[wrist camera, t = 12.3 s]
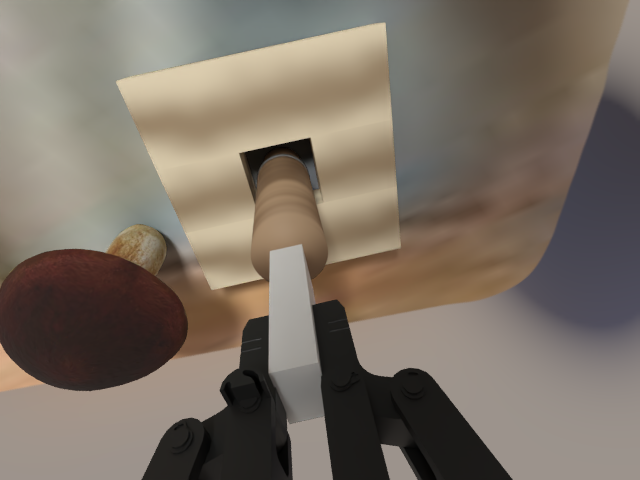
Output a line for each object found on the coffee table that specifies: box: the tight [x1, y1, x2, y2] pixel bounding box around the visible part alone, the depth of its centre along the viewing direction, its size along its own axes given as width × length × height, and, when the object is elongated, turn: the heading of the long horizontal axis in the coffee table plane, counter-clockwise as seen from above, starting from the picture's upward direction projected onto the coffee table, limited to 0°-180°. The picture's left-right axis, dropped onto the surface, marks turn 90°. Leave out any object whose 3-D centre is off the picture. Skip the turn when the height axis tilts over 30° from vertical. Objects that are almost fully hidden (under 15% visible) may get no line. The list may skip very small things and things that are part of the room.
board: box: [116, 23, 401, 290], centre depth 28 cm, size 18×18×3 cm
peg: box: [251, 147, 328, 282], centre depth 24 cm, size 4×4×14 cm
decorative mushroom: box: [0, 224, 188, 391], centre depth 25 cm, size 11×11×15 cm
